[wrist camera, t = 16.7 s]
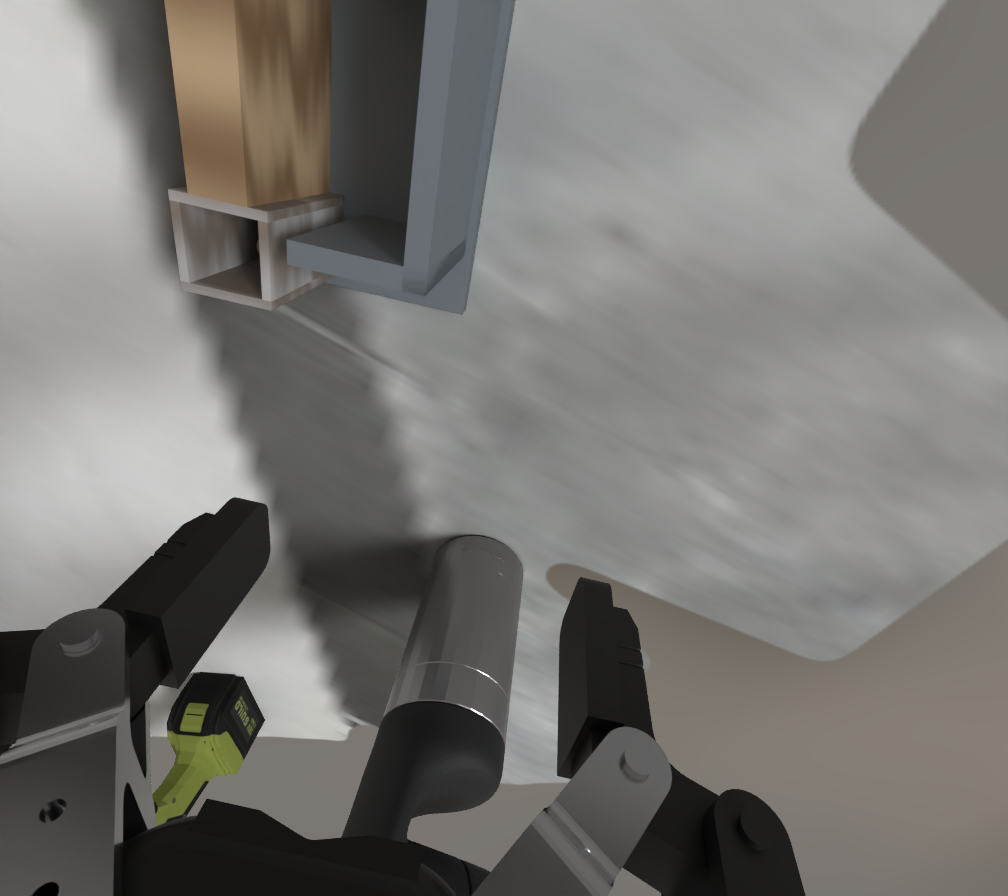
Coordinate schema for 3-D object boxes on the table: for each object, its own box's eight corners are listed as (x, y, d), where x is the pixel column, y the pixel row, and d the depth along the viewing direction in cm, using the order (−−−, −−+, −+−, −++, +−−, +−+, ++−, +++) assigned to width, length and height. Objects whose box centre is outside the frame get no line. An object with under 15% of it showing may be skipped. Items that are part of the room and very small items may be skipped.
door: (342, 272, 36) (271, 310, 27) (271, 255, 36) (178, 289, 27) (352, -100, 26) (247, -222, 17) (254, -124, 26) (100, -257, 17)
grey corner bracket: (465, 309, 38) (425, 371, 27) (270, 263, 38) (152, 309, 27) (527, -75, 27) (499, -222, 16) (252, -140, 27) (42, -332, 16)
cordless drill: (161, 616, 61) (-57, 867, 40) (215, 619, 60) (21, 877, 39) (224, 726, 73) (82, 965, 52) (270, 730, 72) (144, 975, 51)
